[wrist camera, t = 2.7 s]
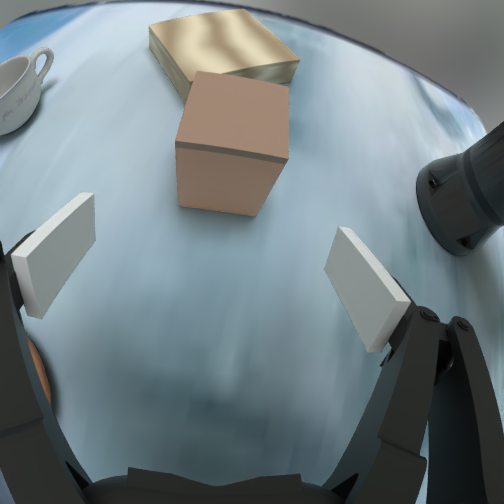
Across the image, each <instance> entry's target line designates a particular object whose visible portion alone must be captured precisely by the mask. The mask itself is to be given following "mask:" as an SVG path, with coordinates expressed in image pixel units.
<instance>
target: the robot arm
mask: <svg viewBox="0 0 504 504" xmlns="http://www.w3.org/2000/svg"><path fill="white" fill-rule="evenodd" d="M417 196H418V201H419V205H420V208H421V211H422V214H423V217H424V219H425V221H426V223H427V225H428V227H429V229H430V231H431V232H432V234H433V235H434V237H435V238H436V239H437V240H438V242H439V243H440V244H441V245H442V246H443V247H444V248H445V249H447V250H448V251H449V252H451V253H453V254H455V255H460V256H462V255H466V254H469V253H471V252H474V251H476V250H477V249H479V248H480V247H481V246H482V245H483V244H484V243H485V242H486V241H487V240H488V239H489V238H490V237H491V236H492V235H493V234H494V233H495V232H496V231H497V230H498V229H499V228H500V227H501V226H503V225H504V122H502V123H501V124H500V125H499V126H497V127H496V128H495V129H494V130H492V131H491V132H490V133H489V134H487V135H486V136H485V137H483V138H482V139H481V140H479V141H478V142H477V143H475V144H474V145H473V146H471V147H470V148H469V149H467V150H466V151H465V152H463V153H460V154H456V155H452V156H448V157H444V158H441V159H437V160H434V161H432V162H431V163H429V164H428V165H427V166H425V167H424V168H423V169H422V170H421V171H420V173H419V176H418V179H417ZM95 241H96V238H95V213H94V193H86V192H81V193H80V194H79V195H78V196H76V197H75V198H74V199H72V200H71V201H70V202H69V203H68V204H66V205H65V206H64V207H63V208H61V209H60V210H59V211H58V212H57V213H55V214H54V215H53V216H52V217H51V218H50V219H48V220H47V221H46V222H45V223H44V224H43V225H42V226H40V227H39V228H38V229H37V230H34V231H32V232H30V233H29V234H27V235H26V236H24V237H23V238H22V239H21V240H20V241H19V242H18V243H17V244H16V246H14V247H13V248H12V249H11V250H10V251H9V252H8V253H7V254H6V255H5V256H4V253H3V248H2V243H1V241H0V468H1V471H2V473H3V476H4V478H5V481H6V483H7V486H8V488H9V490H10V493H11V495H12V497H13V499H14V501H15V503H16V504H415V503H416V500H417V497H418V494H419V491H420V488H421V485H422V481H423V478H424V475H425V471H426V467H427V460H426V458H425V457H422V456H420V455H419V454H420V449H421V445H422V441H423V437H424V433H425V429H426V425H427V420H428V429H429V464H428V485H427V498H426V504H504V433H503V428H502V423H501V418H500V413H499V409H498V405H497V401H496V397H495V393H494V389H493V386H492V382H491V379H490V375H489V372H488V369H487V366H486V362H485V359H484V356H483V353H482V351H481V348H480V345H479V342H478V339H477V337H476V334H475V332H474V329H473V327H472V326H471V324H470V323H469V322H468V321H467V320H466V319H464V318H461V317H458V316H455V317H453V318H452V320H451V321H450V323H449V324H444V323H441V322H440V319H439V317H438V316H437V315H436V314H435V313H434V312H433V311H431V310H430V309H428V308H426V307H422V306H417V305H416V304H415V303H414V301H413V300H412V299H411V297H410V296H409V295H408V294H407V292H405V290H404V288H403V287H401V285H400V283H399V282H398V281H397V280H396V279H395V278H394V277H392V276H391V275H390V274H389V273H388V272H387V271H386V269H385V268H384V267H383V266H382V264H381V263H380V262H379V261H378V260H377V258H376V257H375V256H374V255H373V254H372V253H371V251H370V250H369V249H368V248H367V247H366V246H365V244H364V243H363V242H362V241H361V240H360V239H359V237H358V236H357V235H356V234H355V233H354V232H353V231H352V230H351V228H345V227H340V226H339V227H338V230H337V233H336V236H335V239H334V242H333V245H332V248H331V250H330V253H329V256H328V259H327V262H326V265H325V268H324V270H325V272H326V274H327V275H328V277H329V279H330V281H331V283H332V285H333V287H334V288H335V290H336V292H337V294H338V296H339V298H340V300H341V302H342V304H343V305H344V307H345V309H346V311H347V313H348V315H349V317H350V319H351V321H352V323H353V325H354V327H355V329H356V331H357V333H358V335H359V337H360V339H361V341H362V343H363V345H364V347H365V349H366V351H367V353H371V352H382V351H383V349H384V347H385V346H386V344H387V343H388V342H389V344H390V345H391V347H392V348H391V350H390V351H389V353H388V354H387V356H386V357H385V359H384V360H383V362H382V363H381V365H380V366H381V367H382V366H383V368H382V371H381V373H380V376H379V378H378V381H377V383H376V386H375V388H374V391H373V393H372V396H371V398H370V400H369V403H368V405H367V407H366V409H365V412H364V414H363V416H362V418H361V420H360V422H359V425H358V427H357V429H356V431H355V433H354V435H353V437H352V439H351V441H350V443H349V445H348V447H347V449H346V451H345V452H344V454H343V456H342V458H341V460H340V462H339V463H338V465H337V467H336V469H335V470H334V472H333V474H332V475H331V476H330V478H329V479H328V480H327V481H326V482H325V483H324V484H323V486H322V487H320V486H317V485H314V484H310V483H305V482H302V481H301V476H300V474H292V475H280V476H265V477H257V478H254V479H250V480H246V481H242V482H238V483H233V484H229V485H224V486H211V485H207V484H203V483H200V482H196V481H193V480H189V479H186V478H183V477H180V476H177V475H174V474H170V473H162V472H155V471H148V470H142V469H136V468H131V467H128V475H121V476H115V477H110V478H106V479H102V480H100V481H97V482H95V483H93V482H92V481H91V479H90V478H89V477H88V475H87V474H86V472H85V471H84V469H83V468H82V467H81V465H80V464H79V462H78V461H77V459H76V457H75V455H74V454H73V452H72V450H71V448H70V446H69V444H68V442H67V440H66V438H65V436H64V434H63V432H62V430H61V428H60V426H59V424H58V422H57V420H56V418H55V415H54V413H53V411H52V408H51V406H50V404H49V401H48V399H47V396H46V394H45V391H44V389H43V386H42V383H41V381H40V378H39V375H38V372H37V369H36V366H35V363H34V360H33V357H32V354H31V351H30V347H29V344H28V340H27V337H26V333H25V329H24V325H23V321H22V317H21V314H20V311H19V310H20V308H21V307H22V305H23V304H24V306H25V310H26V313H27V315H28V316H31V317H35V318H39V319H43V317H44V315H45V314H46V312H47V310H48V309H49V307H50V305H51V304H52V302H53V301H54V299H55V298H56V296H57V295H58V293H59V291H60V290H61V288H62V287H63V285H64V284H65V282H66V281H67V280H68V278H69V277H70V275H71V274H72V272H73V271H74V269H75V268H76V267H77V265H78V264H79V262H80V261H81V260H82V258H83V257H84V255H85V254H86V253H87V251H88V250H89V249H90V247H91V246H92V245H93V243H94V242H95ZM452 363H453V364H452ZM451 364H452V366H451ZM450 366H451V367H450Z"/></svg>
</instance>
